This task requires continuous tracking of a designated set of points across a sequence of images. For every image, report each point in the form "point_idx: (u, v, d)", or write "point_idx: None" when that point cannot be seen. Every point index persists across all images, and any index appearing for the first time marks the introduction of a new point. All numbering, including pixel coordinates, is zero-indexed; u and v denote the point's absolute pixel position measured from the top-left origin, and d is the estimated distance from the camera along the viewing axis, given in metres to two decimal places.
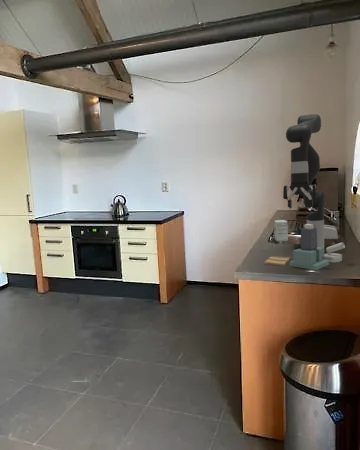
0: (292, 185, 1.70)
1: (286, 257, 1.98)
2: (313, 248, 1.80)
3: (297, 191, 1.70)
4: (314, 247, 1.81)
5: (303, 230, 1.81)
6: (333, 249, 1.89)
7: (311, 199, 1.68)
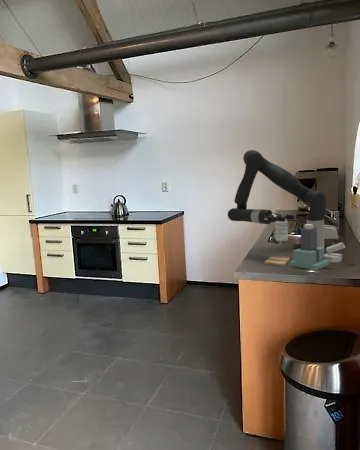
0: None
1: (286, 257, 1.98)
2: (313, 248, 1.80)
3: None
4: (314, 247, 1.81)
5: (303, 230, 1.81)
6: (333, 249, 1.89)
7: None
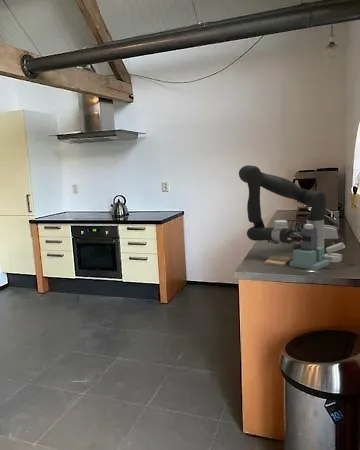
0: None
1: (286, 257, 1.98)
2: (313, 248, 1.80)
3: None
4: (314, 247, 1.81)
5: (303, 230, 1.81)
6: (333, 249, 1.89)
7: None
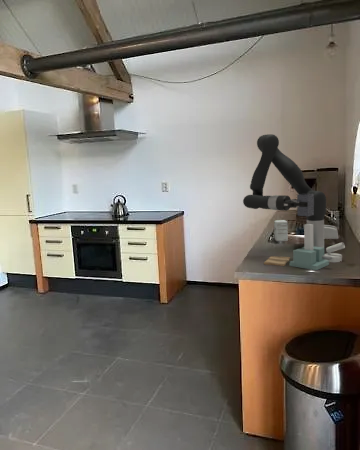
0: None
1: (286, 257, 1.98)
2: (310, 214, 1.79)
3: None
4: (311, 213, 1.80)
5: (300, 196, 1.79)
6: (333, 249, 1.89)
7: (298, 205, 1.79)
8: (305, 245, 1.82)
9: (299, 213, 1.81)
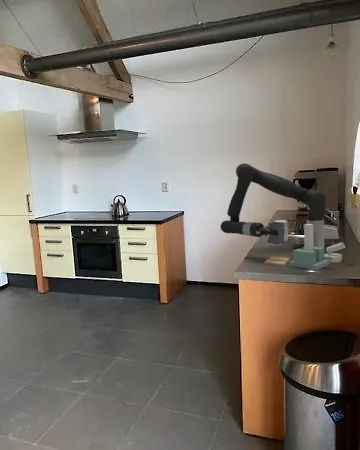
0: None
1: (286, 257, 1.98)
2: (280, 241, 1.90)
3: None
4: (281, 240, 1.91)
5: (271, 224, 1.90)
6: (333, 249, 1.89)
7: (269, 234, 1.91)
8: (305, 245, 1.82)
9: (270, 240, 1.92)
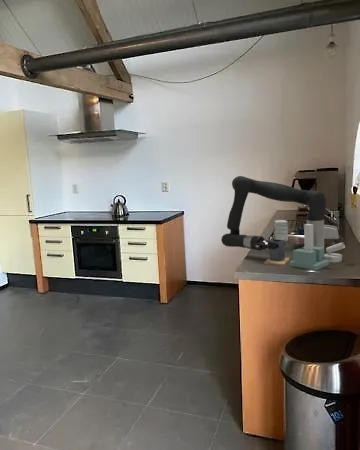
0: None
1: (286, 257, 1.98)
2: (281, 259, 1.92)
3: None
4: (282, 258, 1.93)
5: (271, 242, 1.92)
6: (333, 249, 1.89)
7: (267, 248, 1.91)
8: (305, 245, 1.82)
9: (271, 258, 1.93)
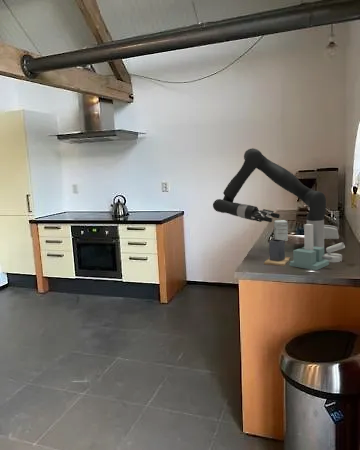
0: None
1: (286, 257, 1.98)
2: (281, 259, 1.92)
3: None
4: (282, 258, 1.93)
5: (271, 242, 1.92)
6: (333, 249, 1.89)
7: None
8: (305, 245, 1.82)
9: (271, 258, 1.93)
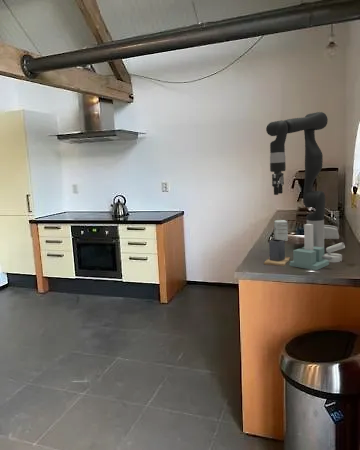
0: None
1: (286, 257, 1.98)
2: (281, 259, 1.92)
3: None
4: (282, 258, 1.93)
5: (271, 242, 1.92)
6: (333, 249, 1.89)
7: (274, 187, 1.89)
8: (305, 245, 1.82)
9: (271, 258, 1.93)
